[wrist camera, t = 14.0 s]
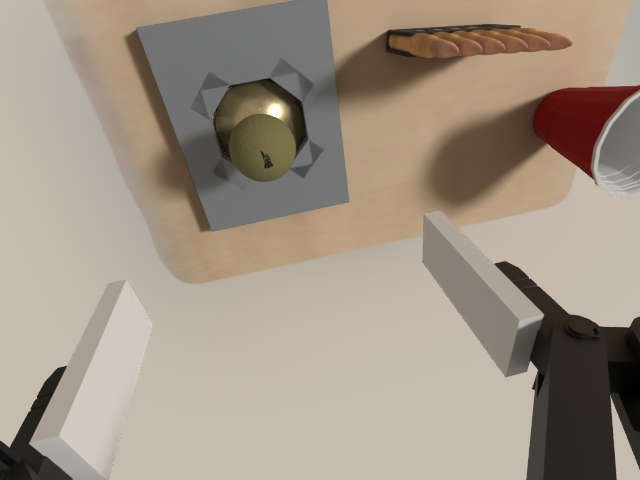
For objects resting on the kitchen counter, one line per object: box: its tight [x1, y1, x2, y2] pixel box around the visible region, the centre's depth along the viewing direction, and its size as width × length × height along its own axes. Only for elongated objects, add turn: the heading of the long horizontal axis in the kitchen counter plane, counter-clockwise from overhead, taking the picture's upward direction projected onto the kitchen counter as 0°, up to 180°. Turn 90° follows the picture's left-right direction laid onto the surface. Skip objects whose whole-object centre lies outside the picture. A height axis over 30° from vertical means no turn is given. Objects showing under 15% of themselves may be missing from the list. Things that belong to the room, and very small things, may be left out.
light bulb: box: [229, 114, 296, 182], centre depth 32 cm, size 6×6×10 cm
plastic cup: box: [533, 85, 640, 198], centre depth 37 cm, size 11×11×12 cm
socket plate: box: [136, 0, 349, 232], centre depth 36 cm, size 20×16×2 cm
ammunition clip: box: [386, 24, 572, 58], centre depth 30 cm, size 11×2×12 cm, turn 92°
